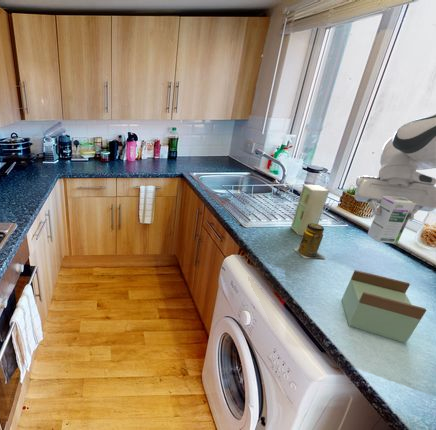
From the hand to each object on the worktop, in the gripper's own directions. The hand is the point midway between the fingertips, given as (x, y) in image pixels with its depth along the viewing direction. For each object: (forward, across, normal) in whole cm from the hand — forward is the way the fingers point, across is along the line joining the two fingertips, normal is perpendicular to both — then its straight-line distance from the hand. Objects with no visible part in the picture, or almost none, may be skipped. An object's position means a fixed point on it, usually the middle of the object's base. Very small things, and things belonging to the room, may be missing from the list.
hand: (392, 216), depth 92 cm
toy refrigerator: (-2, -19, +33) cm, 38 cm away
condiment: (+12, -17, +19) cm, 28 cm away
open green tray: (+35, -4, -4) cm, 35 cm away
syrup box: (+6, 0, +6) cm, 9 cm away
